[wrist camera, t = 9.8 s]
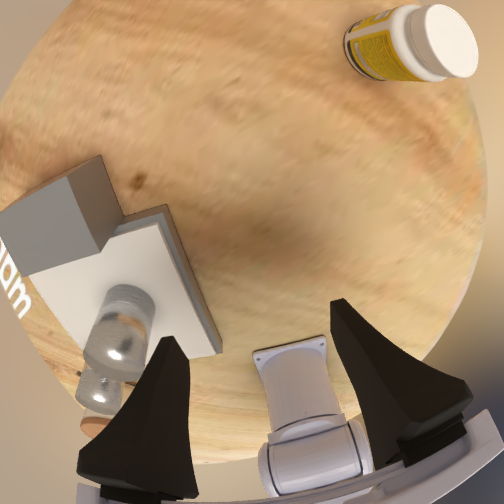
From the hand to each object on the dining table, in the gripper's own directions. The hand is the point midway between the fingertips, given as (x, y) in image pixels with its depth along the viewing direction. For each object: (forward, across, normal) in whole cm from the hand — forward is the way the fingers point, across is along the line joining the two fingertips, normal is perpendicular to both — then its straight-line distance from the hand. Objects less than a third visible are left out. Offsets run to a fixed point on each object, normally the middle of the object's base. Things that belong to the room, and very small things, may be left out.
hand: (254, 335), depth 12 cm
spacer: (+8, +10, +3) cm, 13 cm away
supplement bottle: (+10, -12, -12) cm, 20 cm away
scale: (+10, +12, +2) cm, 16 cm away
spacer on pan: (+8, +16, +9) cm, 20 cm away
